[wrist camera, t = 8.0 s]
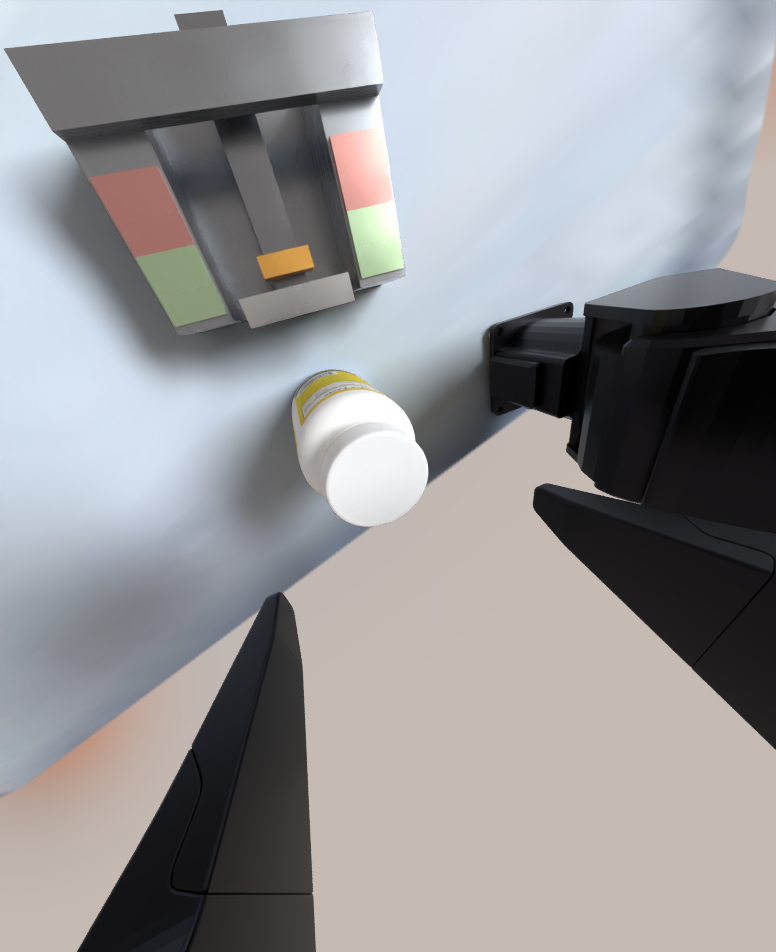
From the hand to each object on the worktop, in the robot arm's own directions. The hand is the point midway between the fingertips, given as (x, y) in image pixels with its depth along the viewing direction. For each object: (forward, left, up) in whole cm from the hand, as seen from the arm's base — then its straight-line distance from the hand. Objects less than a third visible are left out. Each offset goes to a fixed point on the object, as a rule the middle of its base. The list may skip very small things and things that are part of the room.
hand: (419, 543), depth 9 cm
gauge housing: (+1, -11, -12) cm, 16 cm away
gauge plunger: (+1, -11, -11) cm, 15 cm away
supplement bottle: (+1, -1, -12) cm, 12 cm away
